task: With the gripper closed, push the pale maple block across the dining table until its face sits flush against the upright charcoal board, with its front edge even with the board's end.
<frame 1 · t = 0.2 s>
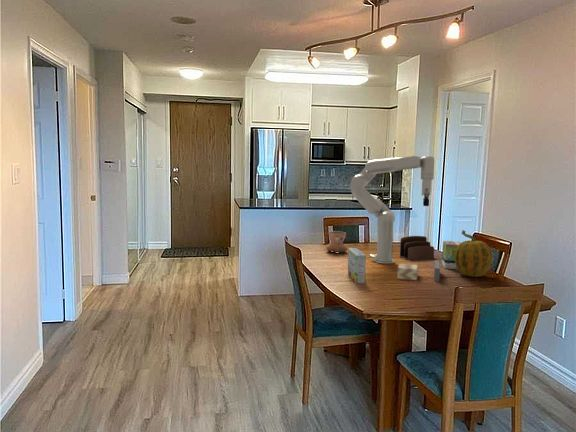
hand: (425, 205, 287), 37 cm above the table, tool pointing down, fingers open, 9 cm apart
pumpkin: (472, 276, 263), on the table
letter holder: (416, 258, 313), on the table
snack box: (356, 279, 254), on the table
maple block: (407, 277, 259), on the table
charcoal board: (436, 276, 260), on the table
tea box: (451, 266, 287), on the table
brown piece: (336, 252, 330), on the table
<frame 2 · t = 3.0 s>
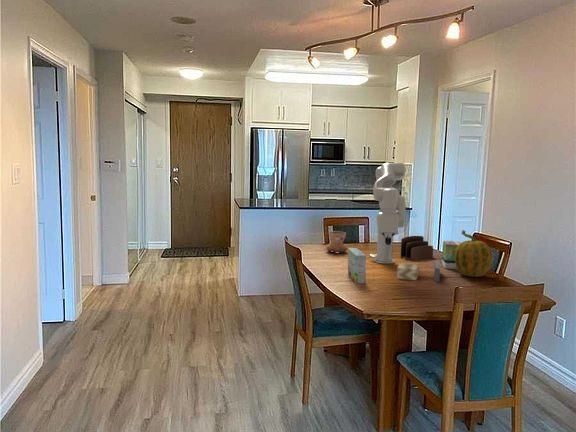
hand: (388, 244, 261), 17 cm above the table, tool pointing down, fingers closed
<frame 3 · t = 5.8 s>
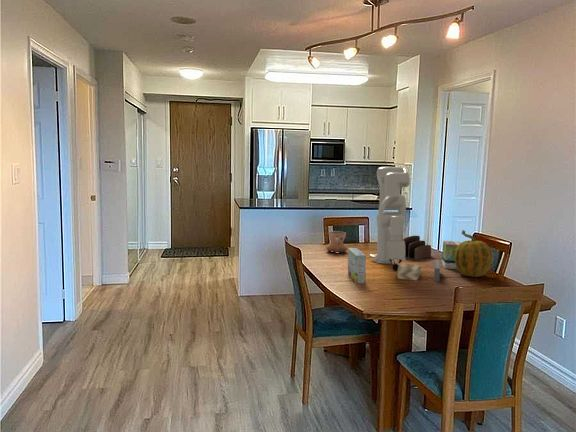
hand: (395, 271, 261), 3 cm above the table, tool pointing down, fingers closed
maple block: (408, 277, 259), on the table, touching gripper
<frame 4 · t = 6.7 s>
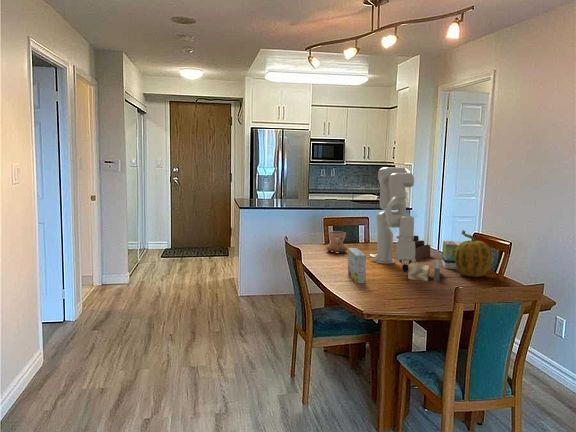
hand: (405, 271, 259), 3 cm above the table, tool pointing down, fingers closed
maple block: (418, 277, 258), on the table, touching gripper
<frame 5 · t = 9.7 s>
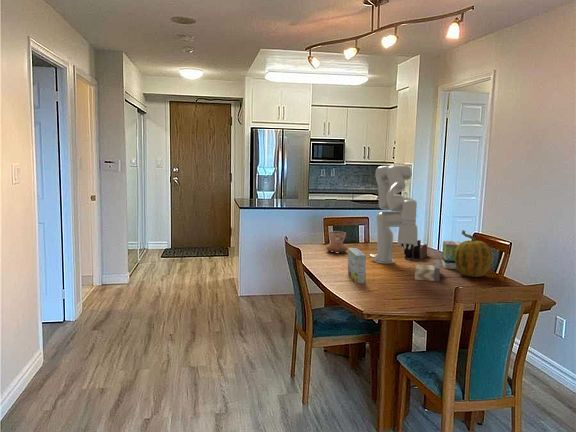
hand: (406, 255, 259), 11 cm above the table, tool pointing down, fingers closed
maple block: (424, 278, 258), on the table
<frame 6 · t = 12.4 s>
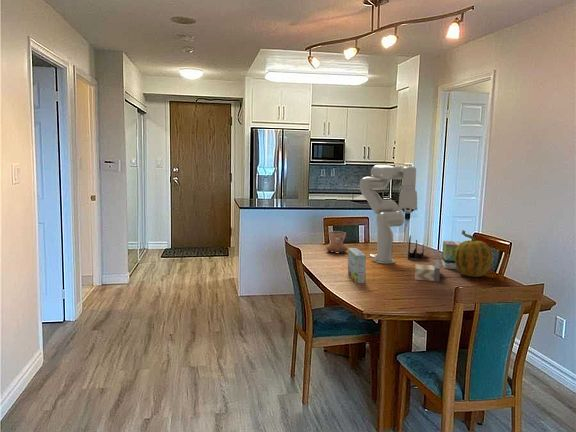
hand: (407, 220, 274), 29 cm above the table, tool pointing down, fingers closed
at the end: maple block 1.0 cm from the target spot on the table beside the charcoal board, on the table; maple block tilted 0° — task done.
